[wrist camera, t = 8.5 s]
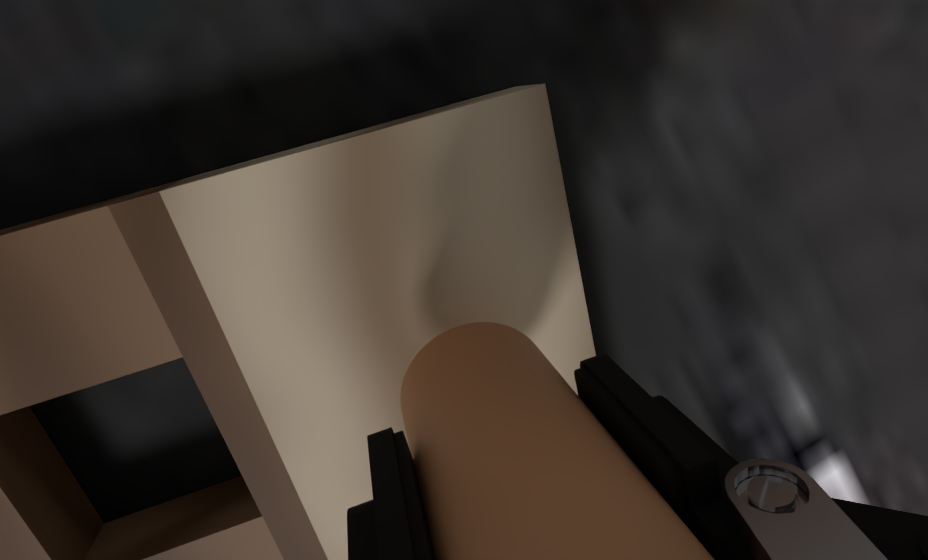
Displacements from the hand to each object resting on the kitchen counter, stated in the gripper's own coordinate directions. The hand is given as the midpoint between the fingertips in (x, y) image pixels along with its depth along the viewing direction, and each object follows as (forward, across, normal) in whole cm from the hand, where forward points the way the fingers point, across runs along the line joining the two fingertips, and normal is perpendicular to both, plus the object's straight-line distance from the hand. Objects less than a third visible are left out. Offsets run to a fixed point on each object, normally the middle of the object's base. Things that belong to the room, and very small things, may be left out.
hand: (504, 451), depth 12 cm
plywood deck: (+7, +6, 0) cm, 9 cm away
